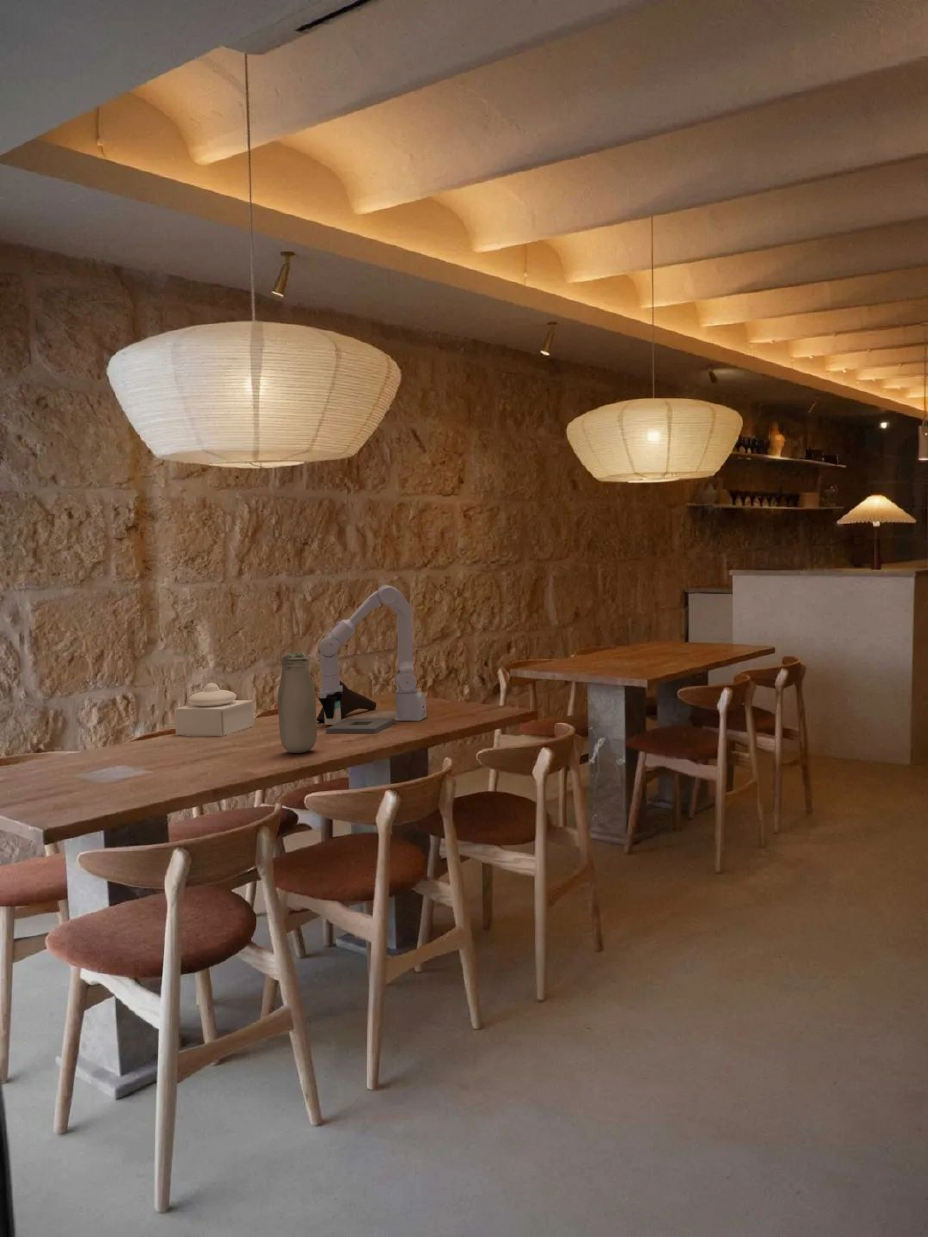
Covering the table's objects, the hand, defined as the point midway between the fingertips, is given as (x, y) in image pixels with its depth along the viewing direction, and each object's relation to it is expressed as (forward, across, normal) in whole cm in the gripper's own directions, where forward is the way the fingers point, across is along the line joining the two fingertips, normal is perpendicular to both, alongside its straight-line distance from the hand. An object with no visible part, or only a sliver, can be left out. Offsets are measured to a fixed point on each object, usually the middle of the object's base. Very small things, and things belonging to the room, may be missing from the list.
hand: (332, 717), depth 319 cm
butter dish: (+3, +11, -36) cm, 37 cm away
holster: (+3, -16, -1) cm, 17 cm away
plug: (+2, 0, 0) cm, 2 cm away
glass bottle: (+3, +43, +8) cm, 44 cm away
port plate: (+2, +6, +12) cm, 14 cm away
